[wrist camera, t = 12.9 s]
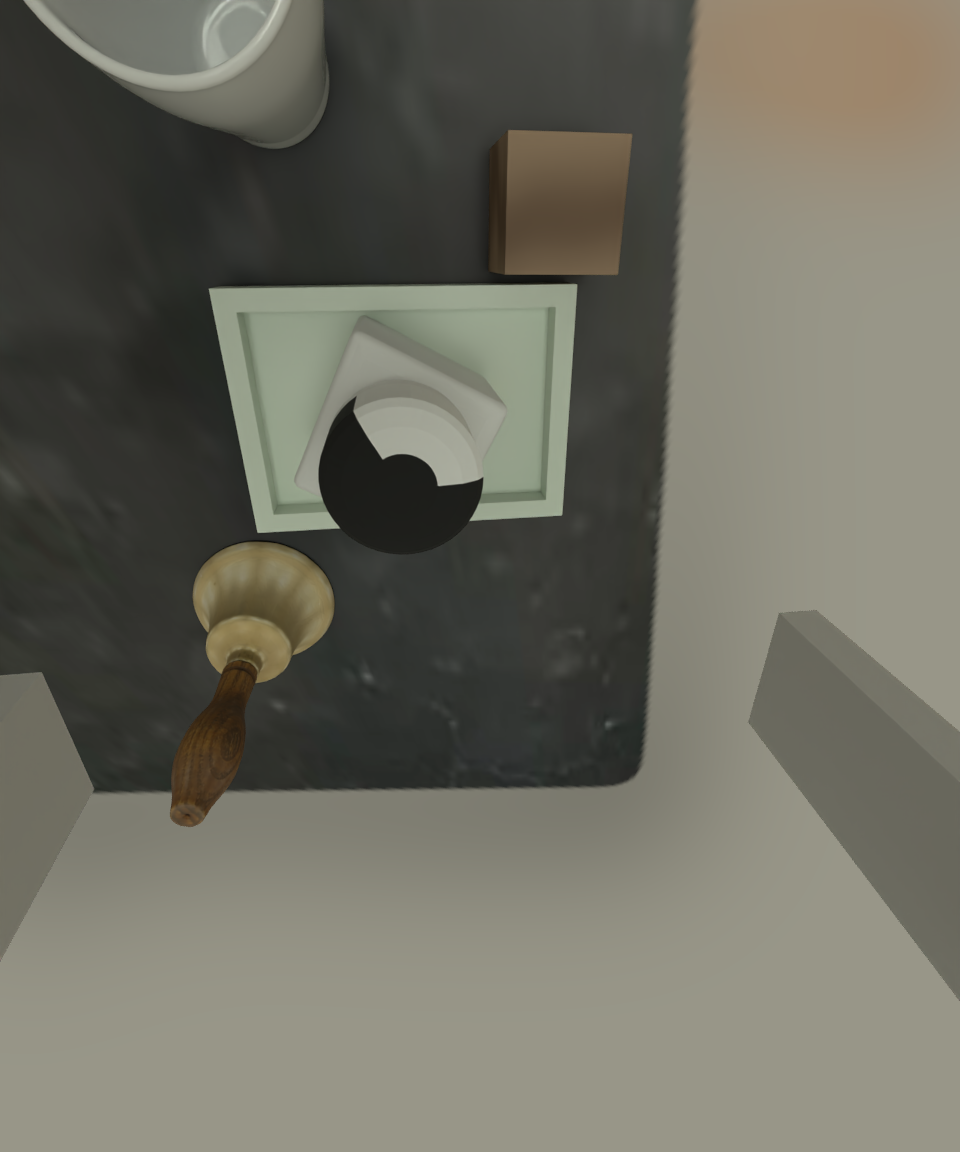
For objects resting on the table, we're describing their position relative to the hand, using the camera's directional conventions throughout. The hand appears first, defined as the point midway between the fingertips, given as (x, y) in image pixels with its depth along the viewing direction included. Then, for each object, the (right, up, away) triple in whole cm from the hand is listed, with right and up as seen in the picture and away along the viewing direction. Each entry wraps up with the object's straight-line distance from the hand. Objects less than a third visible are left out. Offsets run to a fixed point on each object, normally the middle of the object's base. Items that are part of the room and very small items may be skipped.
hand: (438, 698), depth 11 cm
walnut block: (+4, +20, +18) cm, 27 cm away
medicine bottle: (-4, +11, +21) cm, 24 cm away
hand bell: (-12, +1, +26) cm, 29 cm away
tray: (-3, +11, +21) cm, 24 cm away
